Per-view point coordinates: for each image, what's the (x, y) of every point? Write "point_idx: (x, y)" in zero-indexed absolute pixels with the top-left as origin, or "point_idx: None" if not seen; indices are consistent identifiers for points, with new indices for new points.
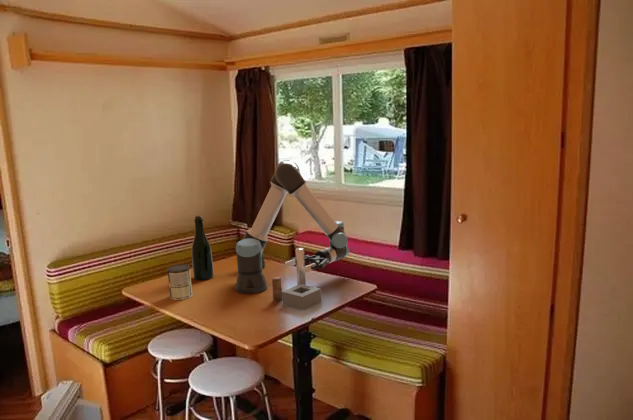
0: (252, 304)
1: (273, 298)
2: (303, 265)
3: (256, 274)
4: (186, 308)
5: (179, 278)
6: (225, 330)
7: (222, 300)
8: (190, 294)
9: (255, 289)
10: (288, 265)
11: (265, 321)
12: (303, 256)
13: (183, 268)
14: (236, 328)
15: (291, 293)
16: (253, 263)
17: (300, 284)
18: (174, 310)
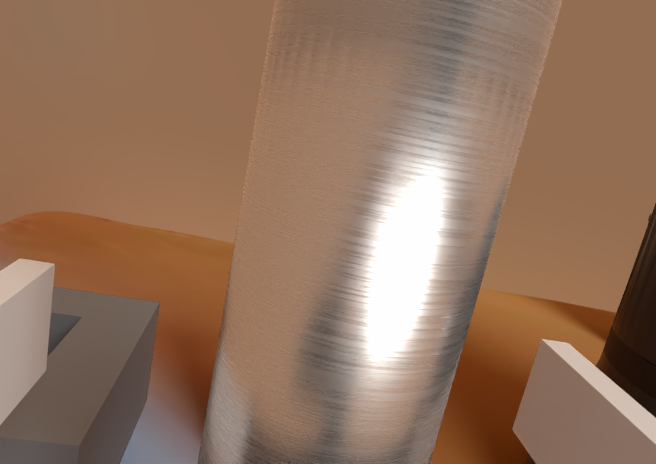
0: None
1: None
2: (206, 414)
3: (610, 372)
4: (490, 303)
5: (639, 249)
6: (205, 242)
7: (502, 363)
8: None
9: (529, 455)
10: (553, 440)
11: (107, 277)
12: (244, 184)
13: None
14: (181, 248)
15: (53, 291)
16: (641, 259)
17: (72, 434)
18: (494, 292)
